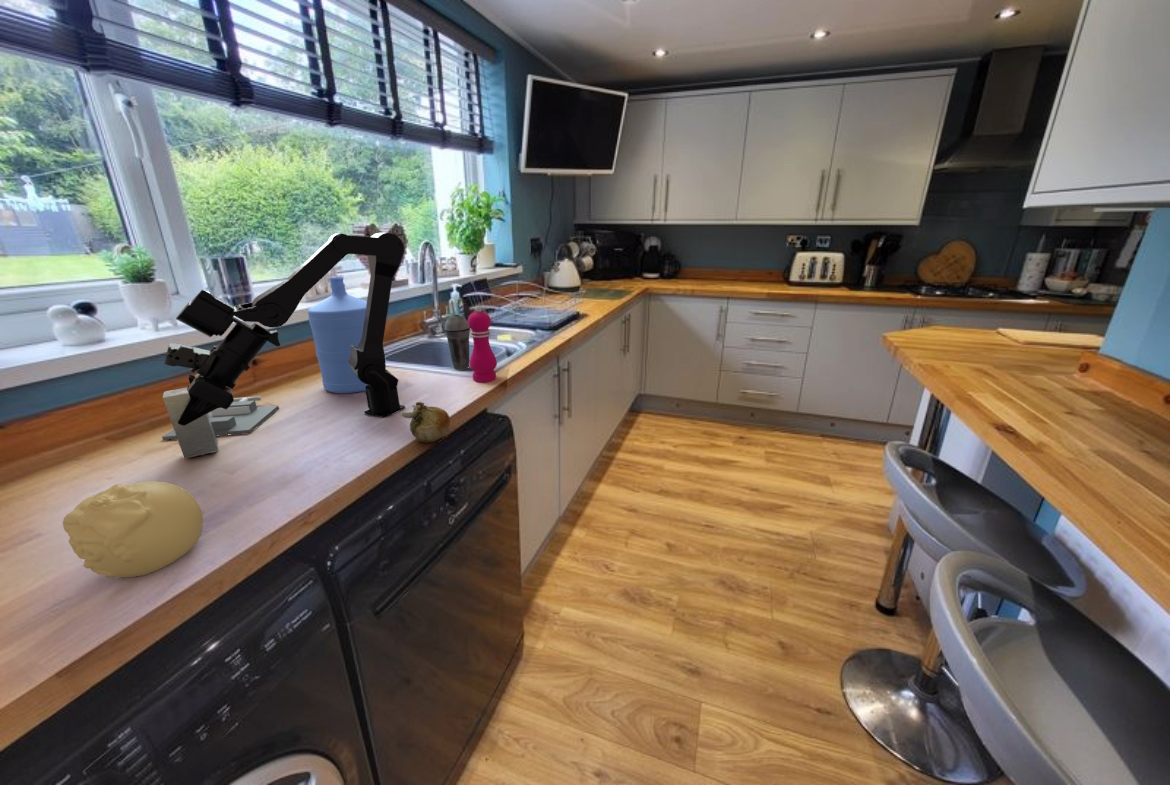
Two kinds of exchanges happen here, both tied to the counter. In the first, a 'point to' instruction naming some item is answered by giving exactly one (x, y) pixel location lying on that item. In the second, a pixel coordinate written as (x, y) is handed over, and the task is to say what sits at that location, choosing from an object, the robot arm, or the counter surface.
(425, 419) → the onion
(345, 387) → the water jug
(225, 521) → the counter surface
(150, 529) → the sculpture
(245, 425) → the stepped grey baseplate
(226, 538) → the counter surface
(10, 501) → the counter surface
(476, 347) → the pepper mill
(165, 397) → the steel block
